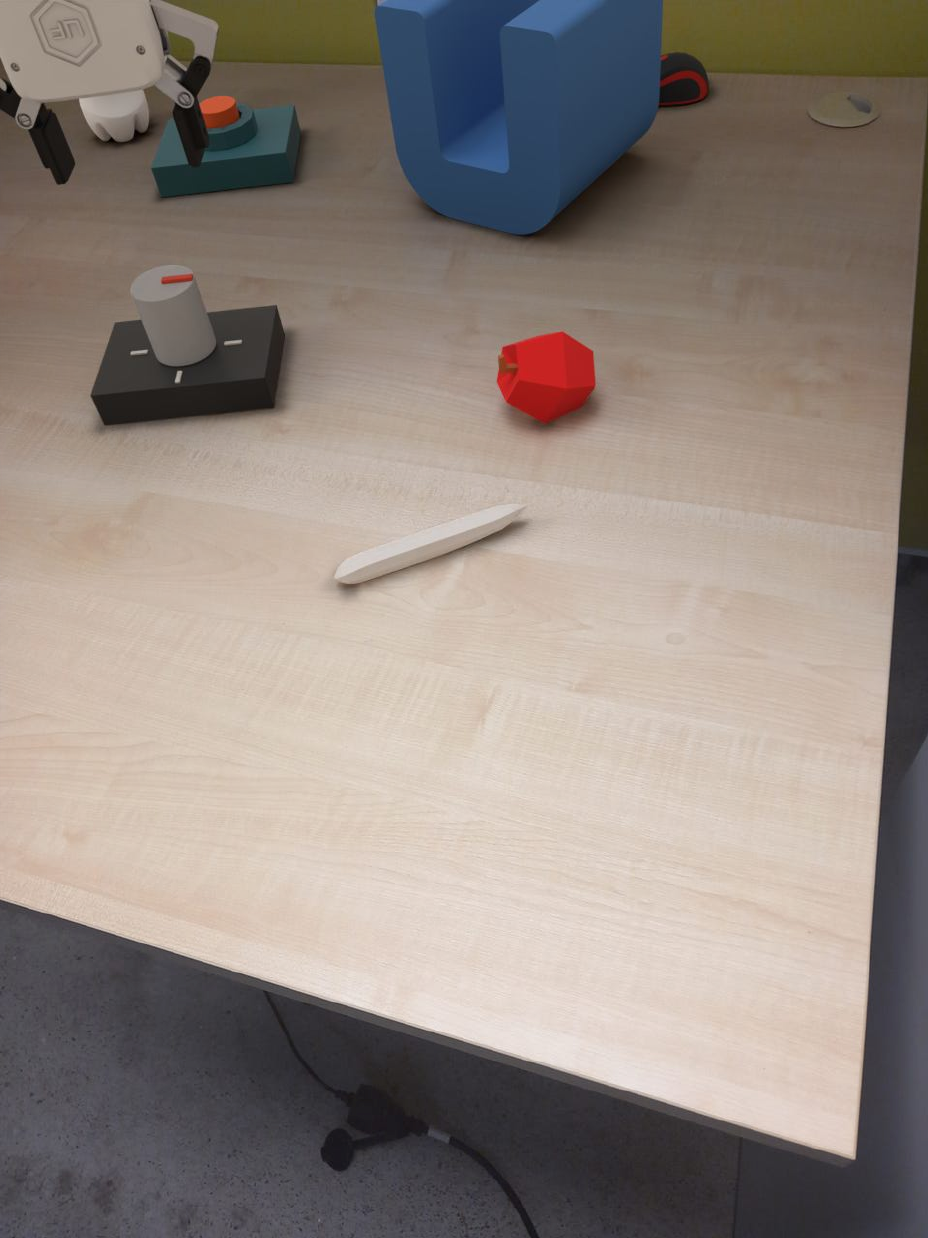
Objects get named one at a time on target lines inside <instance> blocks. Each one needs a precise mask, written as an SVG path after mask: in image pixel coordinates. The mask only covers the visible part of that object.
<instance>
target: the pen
mask: <svg viewBox="0 0 928 1238" xmlns="http://www.w3.org/2000/svg"><path fill="white" fill-rule="evenodd" d="M527 507H528V504H524V503H523V504H521V503H506V504H500V505H494V506H491V507H488V508H485V509H482V510H480V511H476V512H473V513H470V514H467V515H464V516H461V517H459V518H456V519H453V520H449V521H446V522H443V523H441V524H437V525H434V526H431V527H428V528H426V529H423V530H419V531H417V532H414V533H412V534H408V535H406V536H403V537H400V538H397V539H395V540H391V541H389V542H386V543H383V544H380V545H377V546H374V547H371V548H368V549H367V550H363V551H361V552H358V553H356V554H354V555H352V556H349V557H347V558H345V560H343V561H342V562H341V563H340V565H339V566H338V567H337V569H336V571H335V574H334V580H335V581H337V582H338V583H342V584H346V585H355V584H357V585H358V584H361V583H364V582H367V581H370V580H373V579H377V578H380V577H383V576H385V575H388V574H390V573H394V572H396V571H400V570H402V569H405V568H408V567H412V566H414V565H417V564H420V563H423V562H426V561H429V560H432V559H436V558H437V557H441V556H444V555H446V554H448V553H450V552H453V551H456V550H458V549H461V548H463V547H465V546H468V545H470V544H473V543H475V542H477V541H479V540H482V539H484V538H486V537H488V536H490V535H492V534H495V533H497V532H499V531H501V530H503V529H504V528H506V527H507V526H509V525H510V524H511V523H512V522H514V521H515V520H516V519H517V518H518V517H519V516H520V515H521V514H522V513H523V512H524V511H525V510H526V508H527Z"/></svg>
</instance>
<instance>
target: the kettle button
mask: <svg viewBox="0 0 928 1238" xmlns="http://www.w3.org/2000/svg"><path fill="white" fill-rule="evenodd" d="M236 103H237V102H236V99H235V98H234V97H233V96H229V95H217V96H212V97H208V98H206V99H204V100H202V101H201V102H199V105H200V108H201V111H202V115H203V118H204V121H205V124H206V128H210V129H212V128H221V127H225V126H227V125H230V124H233V123H235V122H236V121H237V120H239V119H240V117H239V113H238V109H237V105H236Z"/></svg>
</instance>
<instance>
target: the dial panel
mask: <svg viewBox="0 0 928 1238" xmlns="http://www.w3.org/2000/svg"><path fill="white" fill-rule="evenodd" d="M207 314H208V317H209V320H210V323H211V326H212V329H213V332H214V335H215V338H216V346H215V348H214V350H213V351H212V353H211V354H210V355H208V356H207V357H206V358H204V359H203V360H201V361H199V362H196V363H194V364H190V365H186V366H168V365H165V364H163V363H161V362H160V361H159V360H158V359H157V358H156V355H155V353H154V350H153V348H152V345H151V343H150V340H149V338H148V335H147V333H146V330H145V328H144V325H143V323H142V320H141V319H133V320H124V321H115V322H114V324H113V327H112V330H111V333H110V335H109V339H108V342H107V345H106V348H105V350H104V354H103V356H102V359H101V362H100V366H99V368H98V371H97V374H96V377H95V380H94V383H93V386H92V388H91V392H90V398H91V400H92V403H93V405H94V406H95V408H96V412H97V413H98V416H99V417H100V419H101V421H102V423H103V425H104V426H109V425H120V424H129V423H139V422H149V421H158V420H159V421H160V420H169V419H179V418H189V417H198V416H207V415H209V416H210V415H219V414H227V413H238V412H239V413H240V412H248V411H258V410H269V409H274V408H275V406H276V405H275V404H276V399H277V398H276V396H277V390H278V384H279V377H280V371H281V365H282V357H283V351H284V344H285V338H286V333H285V330H284V326H283V323H282V318H281V315H280V312H279V309H278V305H277V304H272V305H264V306H255V307H254V306H253V307H245V308H235V309H226V310H217V311H216V310H215V311H208V312H207Z"/></svg>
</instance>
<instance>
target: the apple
mask: <svg viewBox="0 0 928 1238" xmlns="http://www.w3.org/2000/svg"><path fill="white" fill-rule="evenodd" d="M594 356H595V355H594V351H593V350H592V349H590V348H589V347H588V346H586V345H584V344H583V343H582V342H580V341H579V340H577V339H576V338H573V337H572V336H571V335H569V334H567V333H566V332H565V331H557V332H556V331H555V332H551V333H545V334H540V335H536V336H533V337H529V338H526V339H523V340H520V341H517V342H513V343H510V344H507V345H504V346H502V347H501V352H500V354H499V355H497V361H498V370H497V376H496V384H497V386H498V388H499V391H500V392H501V395H502V397H503V399H504V402H505V403H506V404H508V405H509V406H511V407H513V408H515V409H517V410H518V411H520V412H522V413H524V414H525V415H527V416H528V417H529V416H530V417H531V418H533V419H535V420H537V421H538V422H540V423H542V424H544V425H545V424H548V423H550V422H553V421H554V420H557V419H559V418H561V417H563V416H565V415H568V414H570V413H573V412H574V411H577V410H579V409H581V408H583V406H584V404H585V402H586V401H587V399H588V398H589V397H590V395H591V394H592V392H593V391H594V390H595V387H596V386H597V383H596V371H595V370H596V369H595V357H594Z"/></svg>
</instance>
